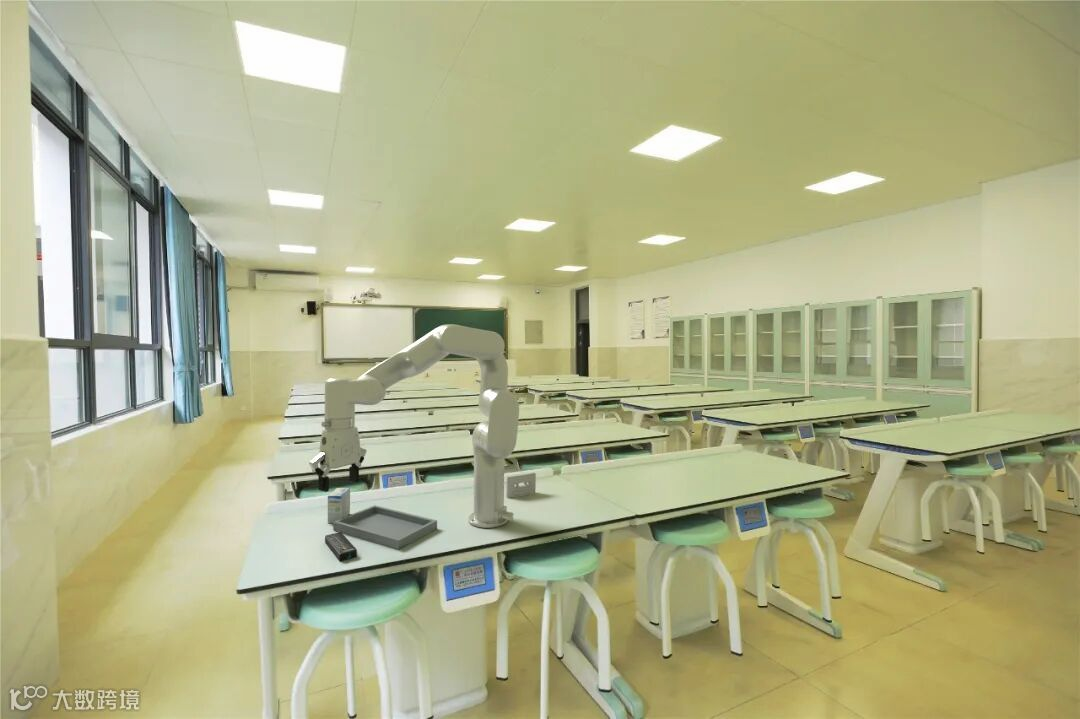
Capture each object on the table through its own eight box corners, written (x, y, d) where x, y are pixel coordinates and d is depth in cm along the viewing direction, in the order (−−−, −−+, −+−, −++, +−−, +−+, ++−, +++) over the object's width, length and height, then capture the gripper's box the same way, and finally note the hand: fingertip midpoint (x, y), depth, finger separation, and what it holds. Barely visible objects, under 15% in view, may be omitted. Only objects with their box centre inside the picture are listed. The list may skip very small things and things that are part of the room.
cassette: (507, 498, 169) (507, 477, 169) (505, 497, 171) (505, 476, 170) (536, 493, 175) (536, 473, 175) (533, 492, 177) (534, 471, 176)
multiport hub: (340, 539, 134) (340, 531, 134) (357, 558, 123) (357, 549, 123) (324, 543, 131) (324, 535, 131) (339, 563, 120) (339, 554, 120)
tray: (437, 528, 141) (437, 520, 141) (398, 549, 127) (398, 540, 127) (374, 512, 153) (374, 505, 153) (333, 530, 139) (333, 521, 139)
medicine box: (336, 513, 152) (336, 487, 151) (350, 513, 152) (350, 487, 152) (327, 523, 144) (327, 495, 144) (342, 523, 144) (342, 495, 144)
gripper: (320, 430, 117) (320, 497, 118) (374, 420, 132) (374, 480, 133) (301, 426, 121) (301, 492, 121) (356, 417, 136) (355, 475, 137)
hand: (339, 485), depth 127 cm, fingers open, 9 cm apart
